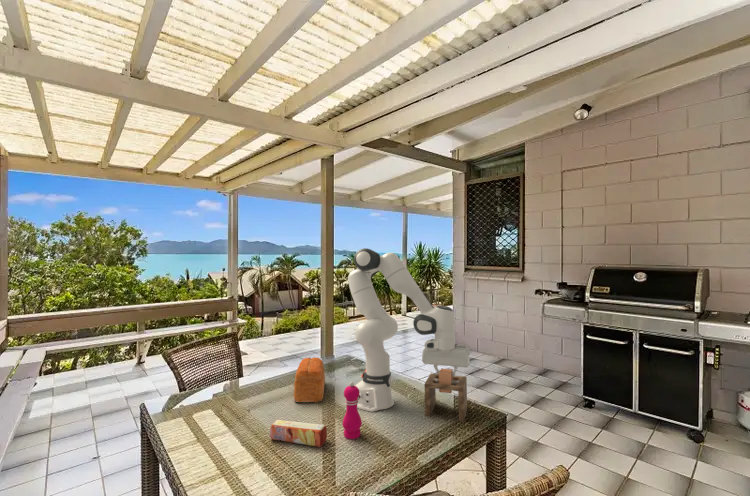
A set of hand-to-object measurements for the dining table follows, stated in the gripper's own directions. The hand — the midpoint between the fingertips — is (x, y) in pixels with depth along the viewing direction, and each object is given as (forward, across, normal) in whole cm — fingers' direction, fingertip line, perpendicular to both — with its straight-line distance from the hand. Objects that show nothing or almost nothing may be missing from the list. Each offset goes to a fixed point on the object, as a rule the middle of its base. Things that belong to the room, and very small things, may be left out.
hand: (445, 375), depth 151 cm
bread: (+16, +68, -1) cm, 70 cm away
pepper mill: (+16, +31, +31) cm, 47 cm away
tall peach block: (+6, 0, 0) cm, 6 cm away
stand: (+15, 0, 0) cm, 16 cm away
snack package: (+16, +48, +41) cm, 65 cm away
